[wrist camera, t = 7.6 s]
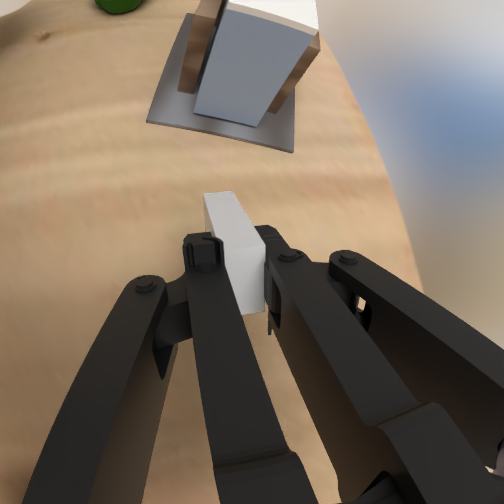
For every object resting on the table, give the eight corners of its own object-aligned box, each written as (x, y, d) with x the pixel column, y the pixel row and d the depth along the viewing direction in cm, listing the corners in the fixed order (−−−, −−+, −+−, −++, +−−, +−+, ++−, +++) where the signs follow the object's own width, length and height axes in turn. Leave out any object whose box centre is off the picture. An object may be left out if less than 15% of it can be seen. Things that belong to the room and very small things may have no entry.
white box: (193, 112, 26) (228, 1, 15) (210, 46, 29) (244, -47, 17) (256, 126, 28) (318, 30, 16) (262, 59, 30) (310, -26, 19)
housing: (146, 122, 26) (153, 40, 16) (186, 15, 30) (204, -49, 21) (292, 153, 29) (347, 92, 20) (293, 42, 34) (328, -13, 25)
